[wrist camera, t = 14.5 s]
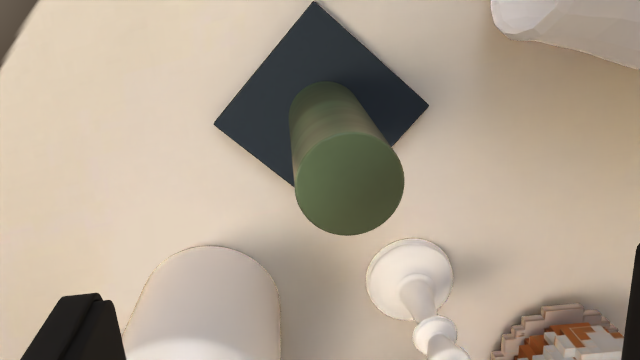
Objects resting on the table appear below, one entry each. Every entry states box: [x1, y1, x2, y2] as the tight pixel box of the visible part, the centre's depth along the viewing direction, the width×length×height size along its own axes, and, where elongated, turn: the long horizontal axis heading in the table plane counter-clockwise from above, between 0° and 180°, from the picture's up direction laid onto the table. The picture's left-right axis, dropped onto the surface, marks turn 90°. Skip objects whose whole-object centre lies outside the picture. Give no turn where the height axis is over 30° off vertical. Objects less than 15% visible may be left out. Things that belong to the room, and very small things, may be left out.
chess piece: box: [366, 238, 471, 360], centre depth 27 cm, size 5×5×10 cm
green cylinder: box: [289, 81, 404, 236], centre depth 23 cm, size 4×4×10 cm
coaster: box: [214, 1, 429, 187], centre depth 28 cm, size 8×8×1 cm
